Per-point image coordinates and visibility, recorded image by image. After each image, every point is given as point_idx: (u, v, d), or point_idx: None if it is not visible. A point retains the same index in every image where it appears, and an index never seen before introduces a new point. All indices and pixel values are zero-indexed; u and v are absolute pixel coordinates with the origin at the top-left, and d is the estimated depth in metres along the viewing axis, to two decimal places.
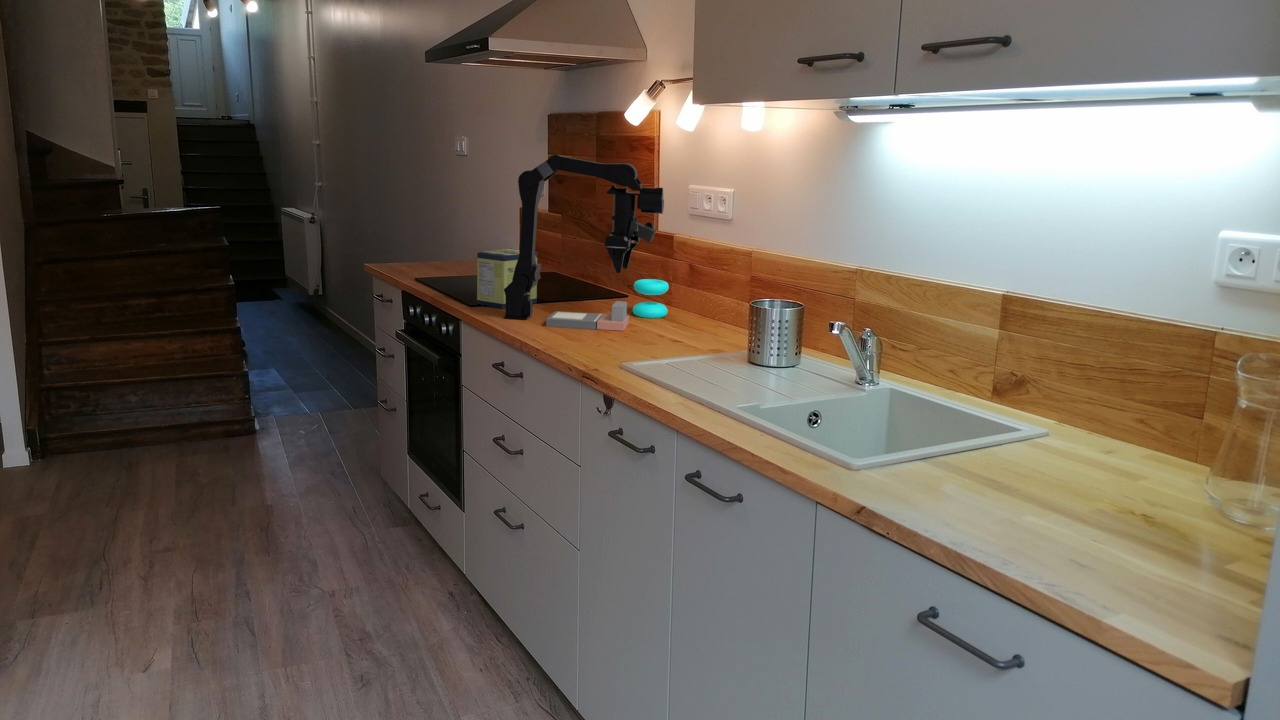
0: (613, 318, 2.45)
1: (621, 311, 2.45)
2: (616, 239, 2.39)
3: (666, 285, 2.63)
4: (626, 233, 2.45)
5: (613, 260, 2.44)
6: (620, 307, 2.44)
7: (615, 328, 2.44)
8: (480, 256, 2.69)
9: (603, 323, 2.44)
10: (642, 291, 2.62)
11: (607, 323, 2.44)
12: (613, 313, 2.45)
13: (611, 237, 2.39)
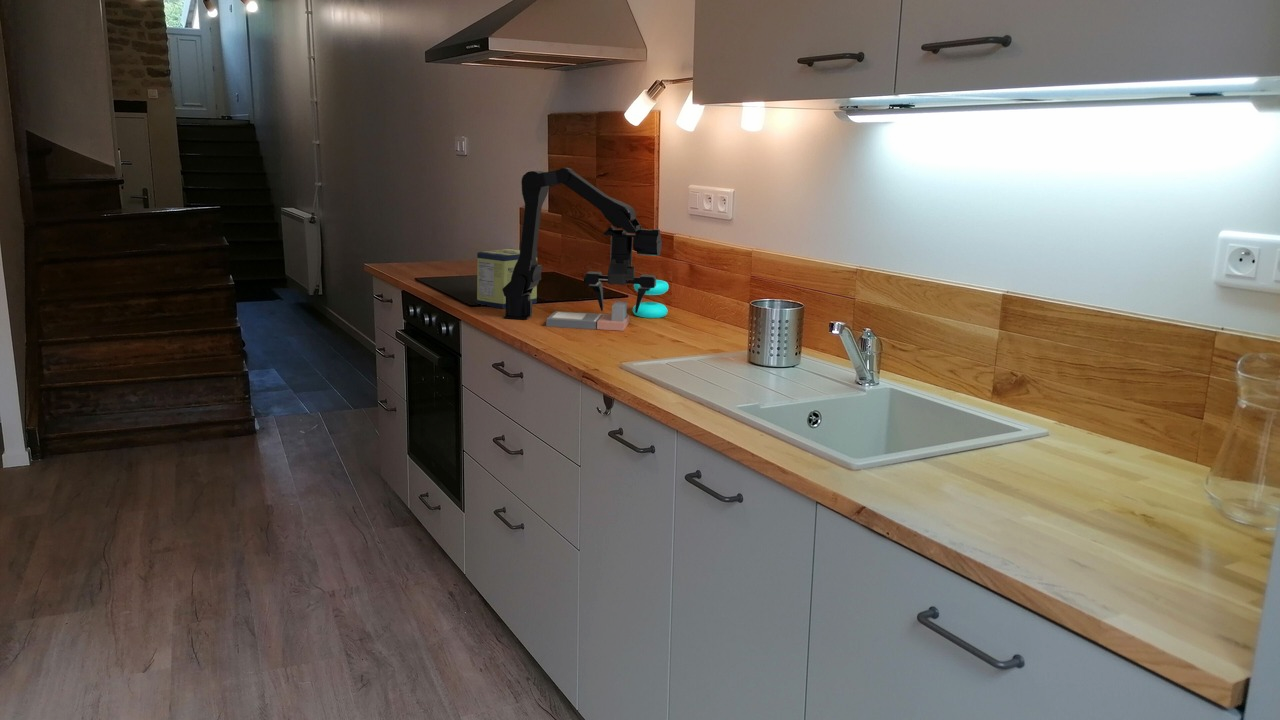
0: (613, 318, 2.45)
1: (621, 311, 2.45)
2: None
3: (666, 285, 2.63)
4: None
5: None
6: (620, 307, 2.44)
7: (615, 328, 2.44)
8: (480, 256, 2.69)
9: (603, 323, 2.44)
10: None
11: (607, 323, 2.44)
12: (613, 313, 2.45)
13: None
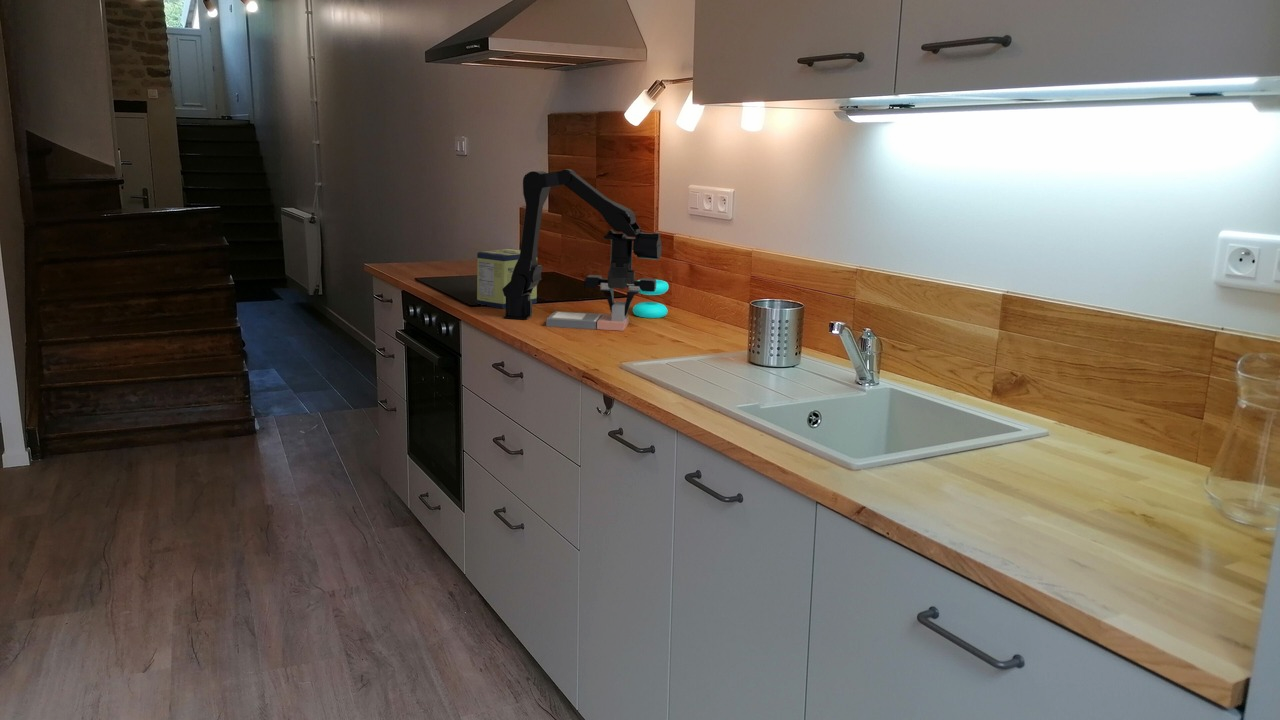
0: (613, 318, 2.45)
1: (621, 311, 2.45)
2: None
3: (666, 285, 2.63)
4: None
5: None
6: (620, 307, 2.44)
7: (615, 328, 2.44)
8: (480, 256, 2.69)
9: (603, 323, 2.44)
10: (642, 291, 2.62)
11: (607, 323, 2.44)
12: (613, 313, 2.45)
13: (587, 276, 2.49)
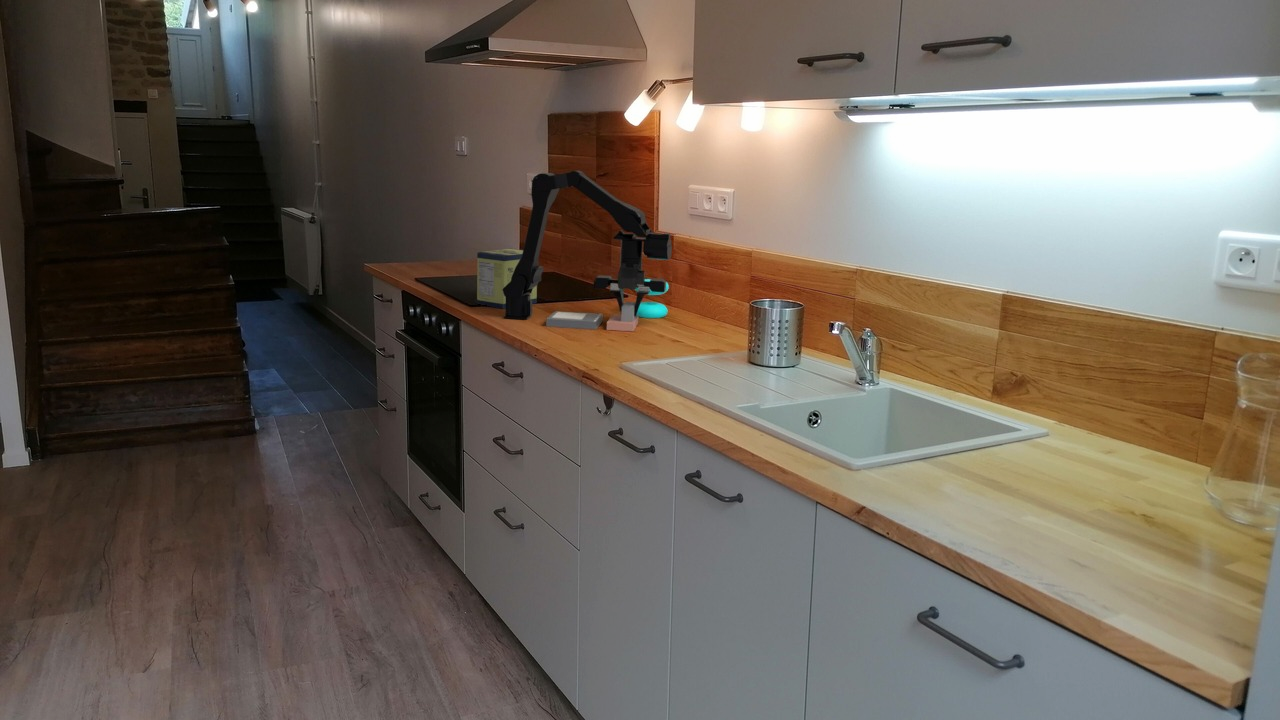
0: (623, 319, 2.45)
1: (631, 312, 2.44)
2: None
3: (666, 285, 2.63)
4: None
5: None
6: (630, 308, 2.44)
7: (625, 329, 2.43)
8: (480, 256, 2.69)
9: (613, 324, 2.43)
10: None
11: (617, 324, 2.43)
12: (623, 314, 2.45)
13: None
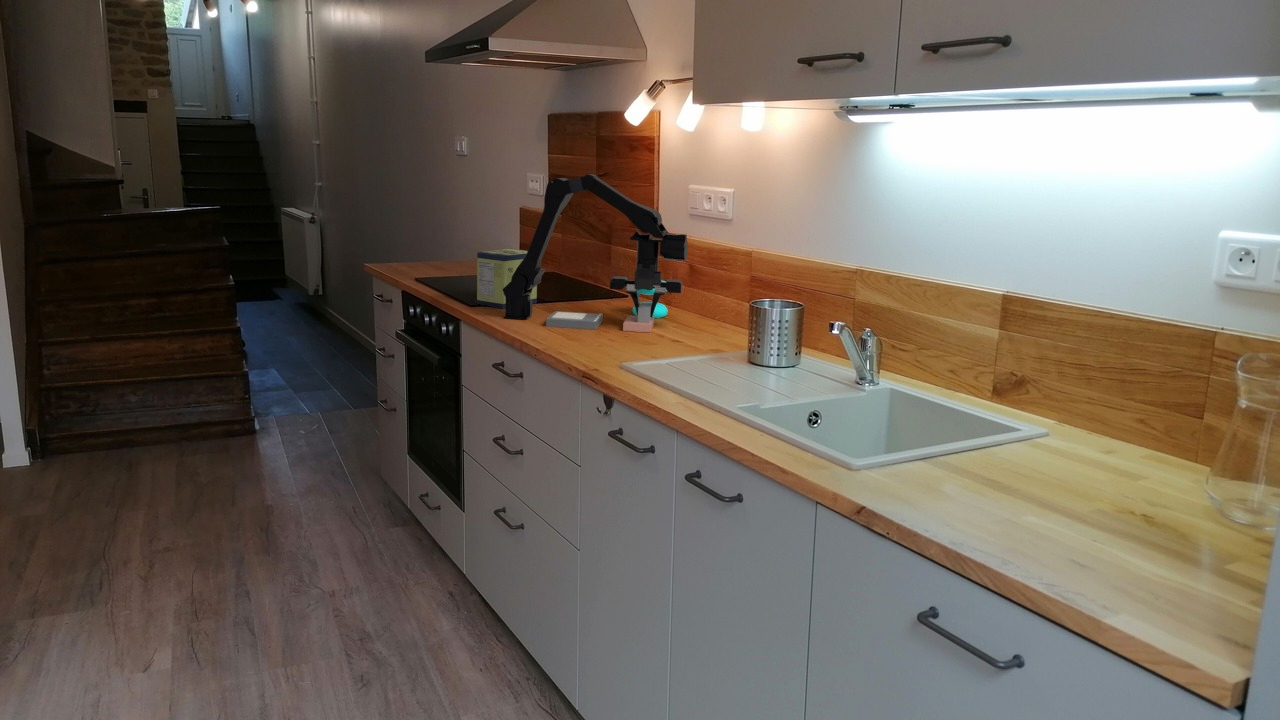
0: (639, 320, 2.45)
1: (647, 313, 2.44)
2: None
3: None
4: None
5: None
6: (646, 309, 2.44)
7: (641, 330, 2.43)
8: (480, 256, 2.69)
9: (629, 325, 2.43)
10: (642, 291, 2.62)
11: (633, 325, 2.43)
12: (639, 315, 2.44)
13: None
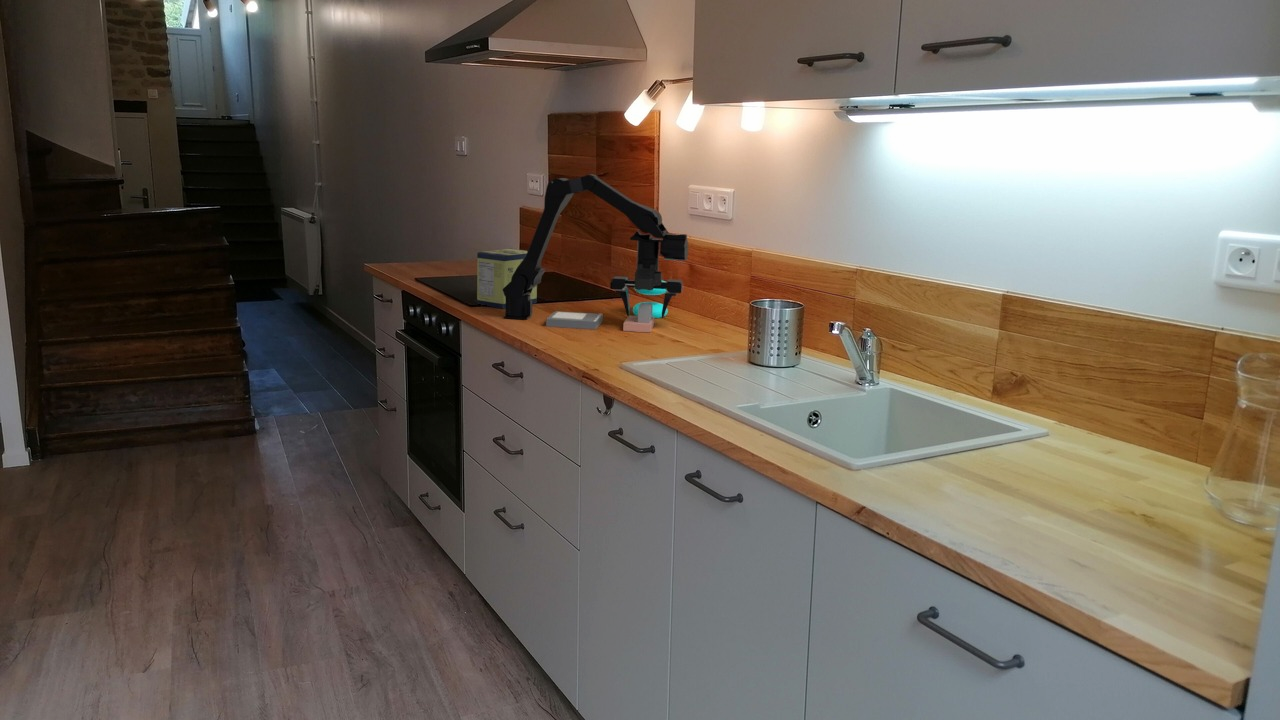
0: (639, 320, 2.45)
1: (647, 313, 2.44)
2: None
3: None
4: None
5: None
6: (646, 309, 2.44)
7: (641, 330, 2.43)
8: (480, 256, 2.69)
9: (629, 325, 2.43)
10: (642, 291, 2.62)
11: (633, 325, 2.43)
12: (639, 315, 2.44)
13: None
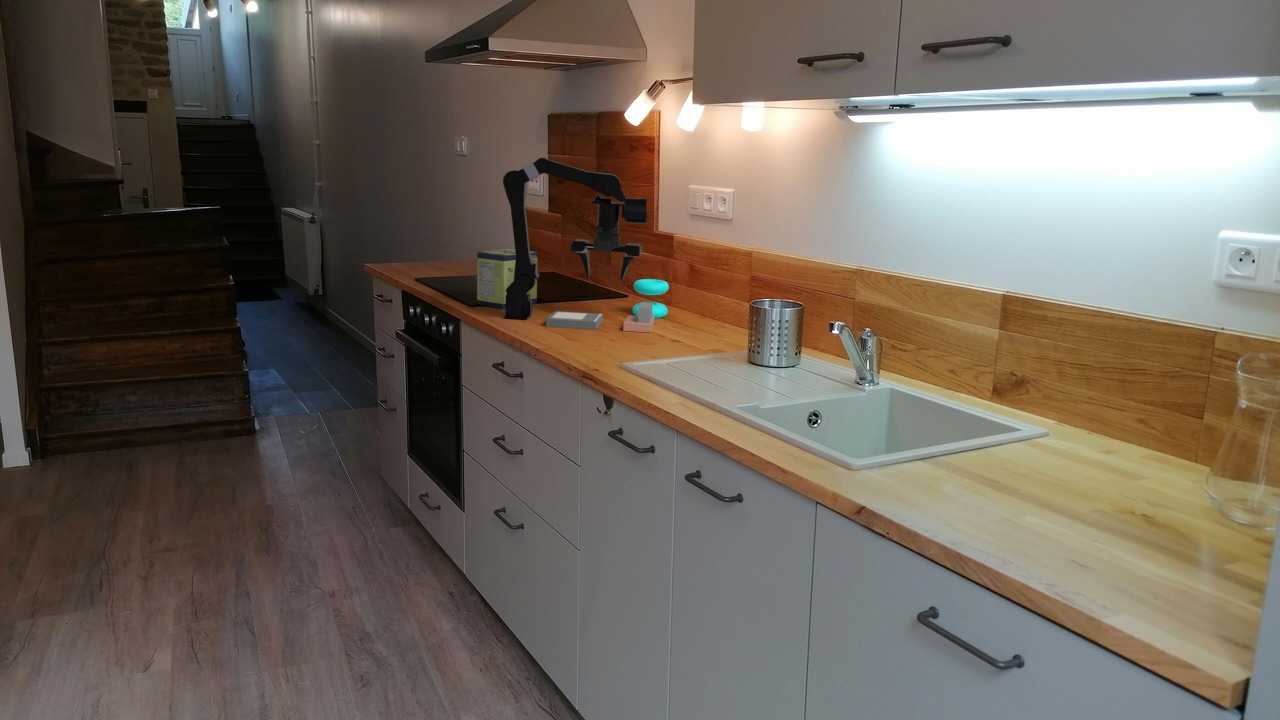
0: (639, 320, 2.45)
1: (647, 313, 2.44)
2: None
3: (666, 285, 2.63)
4: None
5: None
6: (646, 309, 2.44)
7: (641, 330, 2.43)
8: (480, 256, 2.69)
9: (629, 325, 2.43)
10: (642, 291, 2.62)
11: (633, 325, 2.43)
12: (639, 315, 2.44)
13: None
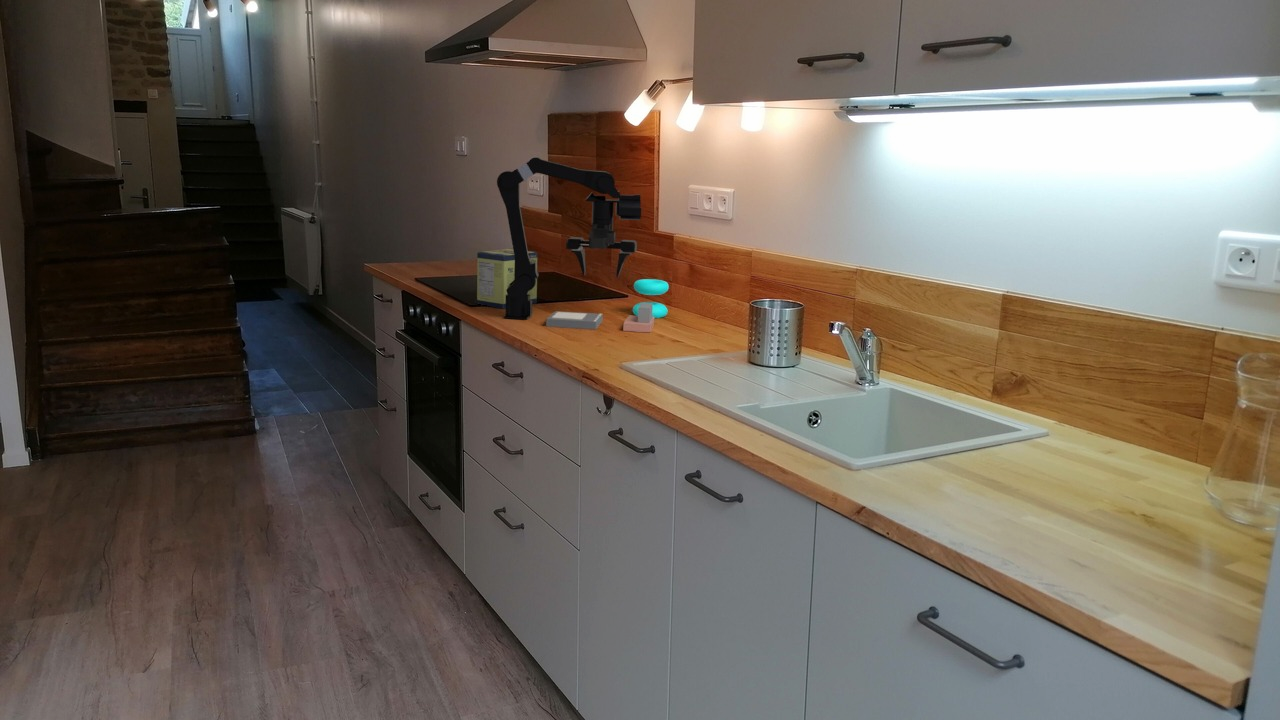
0: (639, 320, 2.45)
1: (647, 313, 2.44)
2: None
3: (666, 285, 2.63)
4: None
5: None
6: (646, 309, 2.44)
7: (641, 330, 2.43)
8: (480, 256, 2.69)
9: (629, 325, 2.43)
10: (642, 291, 2.62)
11: (633, 325, 2.43)
12: (639, 315, 2.44)
13: None
